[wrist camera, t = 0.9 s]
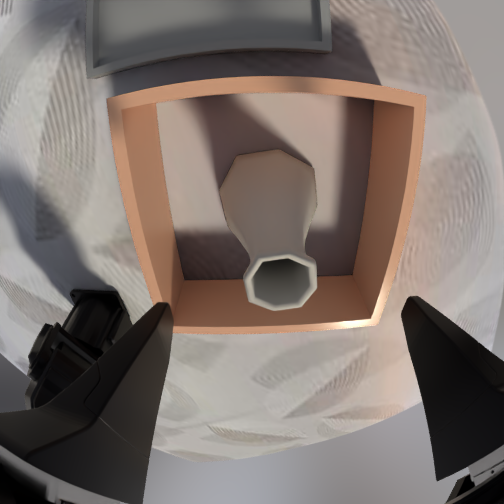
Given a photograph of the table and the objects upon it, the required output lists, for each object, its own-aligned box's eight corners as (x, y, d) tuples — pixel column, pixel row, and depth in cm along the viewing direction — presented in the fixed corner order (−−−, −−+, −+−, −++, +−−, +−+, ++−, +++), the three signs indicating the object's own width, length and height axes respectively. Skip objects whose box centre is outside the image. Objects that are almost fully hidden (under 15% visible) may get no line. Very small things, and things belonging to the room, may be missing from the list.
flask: (225, 140, 18) (198, 190, 9) (328, 158, 18) (388, 221, 10) (215, 232, 21) (193, 330, 13) (305, 244, 22) (332, 343, 14)
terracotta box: (177, 287, 24) (163, 332, 20) (144, 94, 15) (106, 98, 11) (358, 281, 24) (377, 324, 19) (384, 91, 15) (426, 96, 10)
